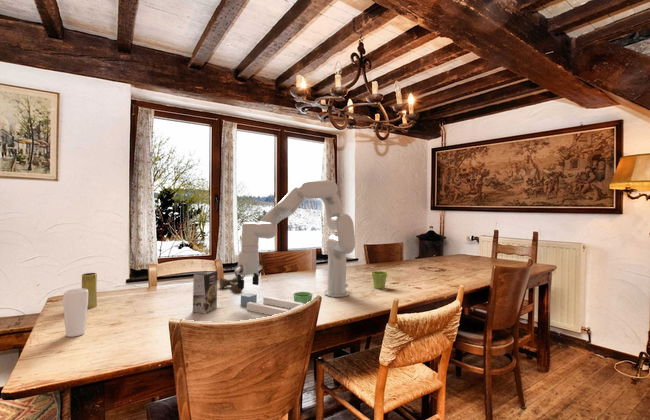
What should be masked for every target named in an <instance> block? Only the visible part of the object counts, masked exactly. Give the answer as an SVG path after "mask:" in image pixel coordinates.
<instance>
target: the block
mask: <svg viewBox="0 0 650 420" xmlns="http://www.w3.org/2000/svg"><path fill="white" fill-rule="evenodd" d="M257 298H258V297H257V294H255V293H250V292H246V293H243V294H241V295H240V306H242V307H243V306H244V307H247V303H248V302H253V303H258V302H257Z"/></svg>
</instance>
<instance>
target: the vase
mask: <svg viewBox="0 0 650 420" xmlns="http://www.w3.org/2000/svg"><path fill="white" fill-rule="evenodd" d="M97 279H98V275H97V273H96V272H86V273H82V274H81V288H83V289H88V307H87V309H93V308H96V307H97V306H98V295H97V292H98V291H97V284H98V283H97V281H98V280H97Z"/></svg>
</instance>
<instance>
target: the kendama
mask: <svg viewBox="0 0 650 420" xmlns="http://www.w3.org/2000/svg"><path fill="white" fill-rule="evenodd" d="M218 284H219V287H220V289H223V290H224V289H225V287H228V286H230V287H231V290H232V291H233V292H234V293H241V292H242V291H243V290H244V289H239V288H238V279H237V277H236V276H235V277H233V278H229V279H226V278H224V277H220V279H219V283H218Z"/></svg>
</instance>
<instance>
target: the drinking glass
mask: <svg viewBox="0 0 650 420" xmlns="http://www.w3.org/2000/svg"><path fill="white" fill-rule="evenodd" d="M62 297H63V300H62V305H63V315H64V325H65V326H64V327H65V337H68V338H75V337H79V336H82V335H83V334H85V332H86V322H87V313H88V308H87V307H88V289H83V288H82V287H81V288H72V289H68V290H65V291H63V296H62Z"/></svg>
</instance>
